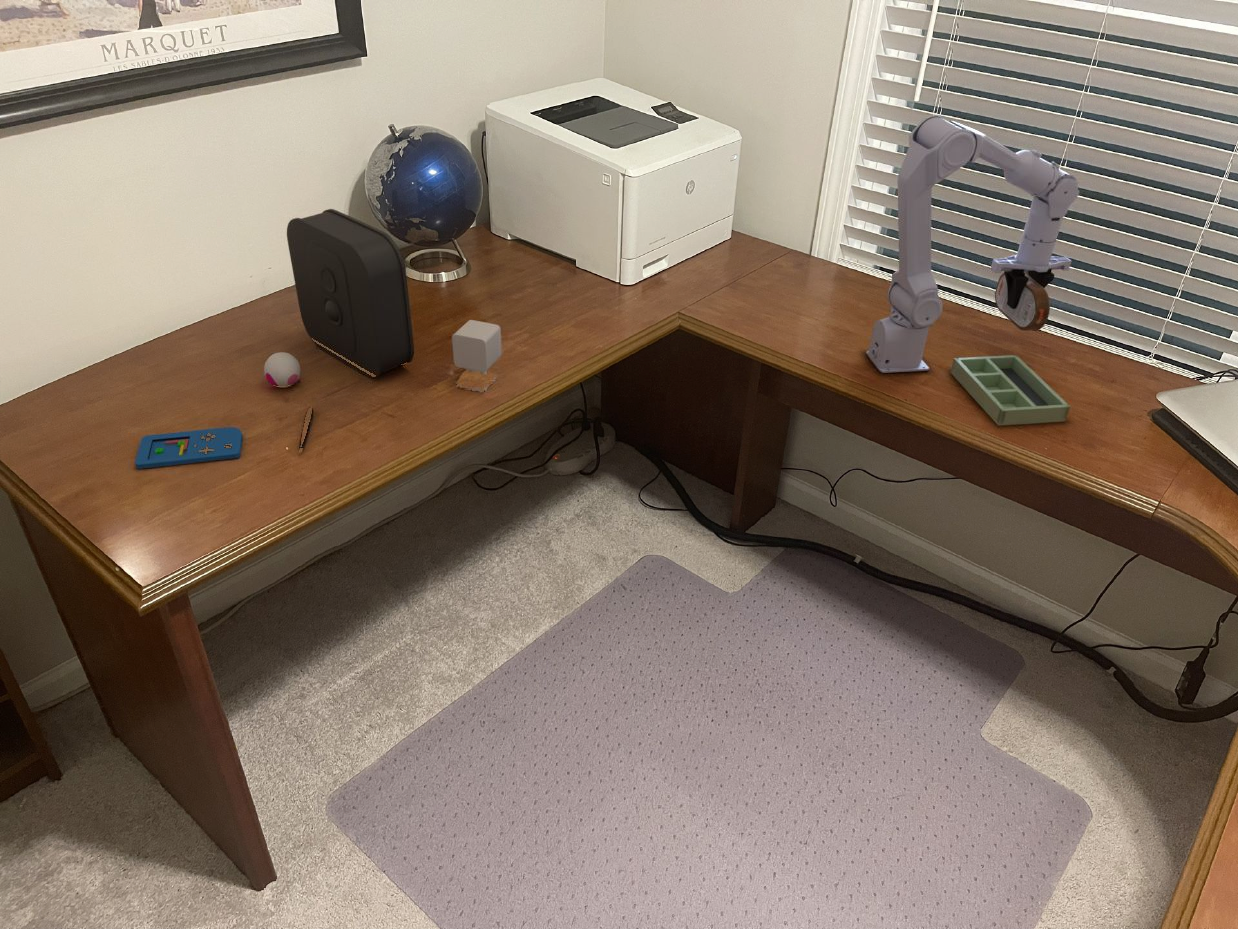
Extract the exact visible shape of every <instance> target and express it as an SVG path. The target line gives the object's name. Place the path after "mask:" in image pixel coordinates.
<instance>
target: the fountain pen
mask: <svg viewBox="0 0 1238 929" xmlns="http://www.w3.org/2000/svg"><path fill="white" fill-rule="evenodd" d="M310 407H311V406H309V407H308V409H309V408H310ZM308 409H307V410H306V413H305V415H304V419H303V425H302V430H301V432H302V431H303V427H304V423H305V422H304V420H305V417H306V414H307V411H308ZM313 419H314V407H312V414H311V419H310V422H309V425H308V429H307V433H306V436H305V439H304V442H303V444H302V447H300V446H301V437H302V433H301V434H300V439H299V446H298V453H299V454H301V453H303V451H304V450H305V447H306V443H307V441H308V437H309V433H310V430H311V425H313V424H312V423H313Z"/></svg>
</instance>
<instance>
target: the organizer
mask: <svg viewBox="0 0 1238 929" xmlns="http://www.w3.org/2000/svg"><path fill="white" fill-rule="evenodd" d="M950 374H951V375H952V376H953V377H954V378H955V379H956V381H957V382H958V383H959V384H960V385H961V386H962V387H963V388H964V389H965V391H966V392H967V393H968V394H969V395H970V396H971V397H972V398H973V399H974V400H975V402H976V403H977V404H978V405H979V406H980V407H981V409H982V410H983V411H984V412H985V413H986V414H987V415H988V416H989V417H990V418H991V419H992V421H993V422H994V423H995V424H996V425H997V426H1014V425H1031V424H1032V425H1033V424H1048V423H1049V424H1050V423H1063V422H1066V420H1067V417H1068V414H1069V412H1070V409H1071V406H1070V405H1069V404H1068V403H1067V402H1066V401H1065V400H1064V399H1063V398H1062V397H1061V396H1060V395H1059V394H1058V393H1057V392H1056V391H1055V390H1054V389H1053V388H1052V387H1051V386H1049V384H1047V383H1046V382H1045V381H1044V380H1043V379H1042V378H1041V377H1040V375H1038V374H1037V373H1036V372H1035V371H1034V370H1033V369H1032V368H1030V366H1028V365H1027V364H1026V363H1025V362H1024V361H1023V360H1022V359H1021V358H1020V357H1019V356H1018V355H1017V354H1013V355H989V356H972V357H954V358H953V361H952V364H951V368H950Z"/></svg>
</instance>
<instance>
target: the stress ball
mask: <svg viewBox="0 0 1238 929" xmlns="http://www.w3.org/2000/svg"><path fill="white" fill-rule="evenodd" d="M263 375H264V377H265V379H266V381H267V382H268V384H270V386H266V387H265V389H268V388H273V387H275V386H288V385H291V384H293V383H295V382H296V383H297V382H299V383H302V381H301V379H300V376H301V365H300V363H299V360H298V359H297V358H296V357H295V356H294V355H293V354H291V353H288V352H283V351H279V352H275V353H273V354H272V355H271V354H270V356H268V358H267V359H266V360H265V362H264V366H263ZM296 383H295V384H296ZM271 384H272V385H271ZM273 385H275V386H273ZM293 385H294V384H293ZM290 387H291V386H289V387H285V388H284V389H288V388H290ZM277 388H278V389H280V388H279V387H277ZM261 389H262V390H263V389H264V387H263V388H261Z"/></svg>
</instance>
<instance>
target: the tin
mask: <svg viewBox="0 0 1238 929" xmlns="http://www.w3.org/2000/svg"><path fill="white" fill-rule="evenodd" d="M1024 273H1025V276H1026V277H1027V278H1028V279H1029V281H1028V282H1027V283H1026V285H1025V287H1024V289H1023V291H1022V293H1021V296H1020V299H1019V302H1018V305H1017V307H1016V309H1012V308H1011V307H1009V306H1008V305H1007V298H1008V292H1007V282H1006V278H1005V274H1004V272H1002V274H1001V275H1000V276H999V278H998V281H997V284H996V288H995V291H994V300H995V305H996V307H997V310H998V311H999V312H1000V313H1001V314H1002V315H1003V316H1004V317H1005V318H1007V320H1009V321H1010V322H1011V323H1012V324H1013V325H1014V326H1015V327H1016V328H1017V329H1018V330H1020V331H1032V332H1037V331H1040V330H1041V329H1042V328H1043V327H1044V326H1045V325H1046V323H1047V322H1048V319H1049V316H1050V311H1051V301H1050V297H1049V294H1048V292H1047V290H1046V289H1045V288H1043V287H1042V286H1041V285H1040V284H1038V283H1037V282H1036V281H1035V280H1033V279H1032V278H1031V277H1030V276H1029V275H1028V273H1027V272H1026V271H1024Z"/></svg>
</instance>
